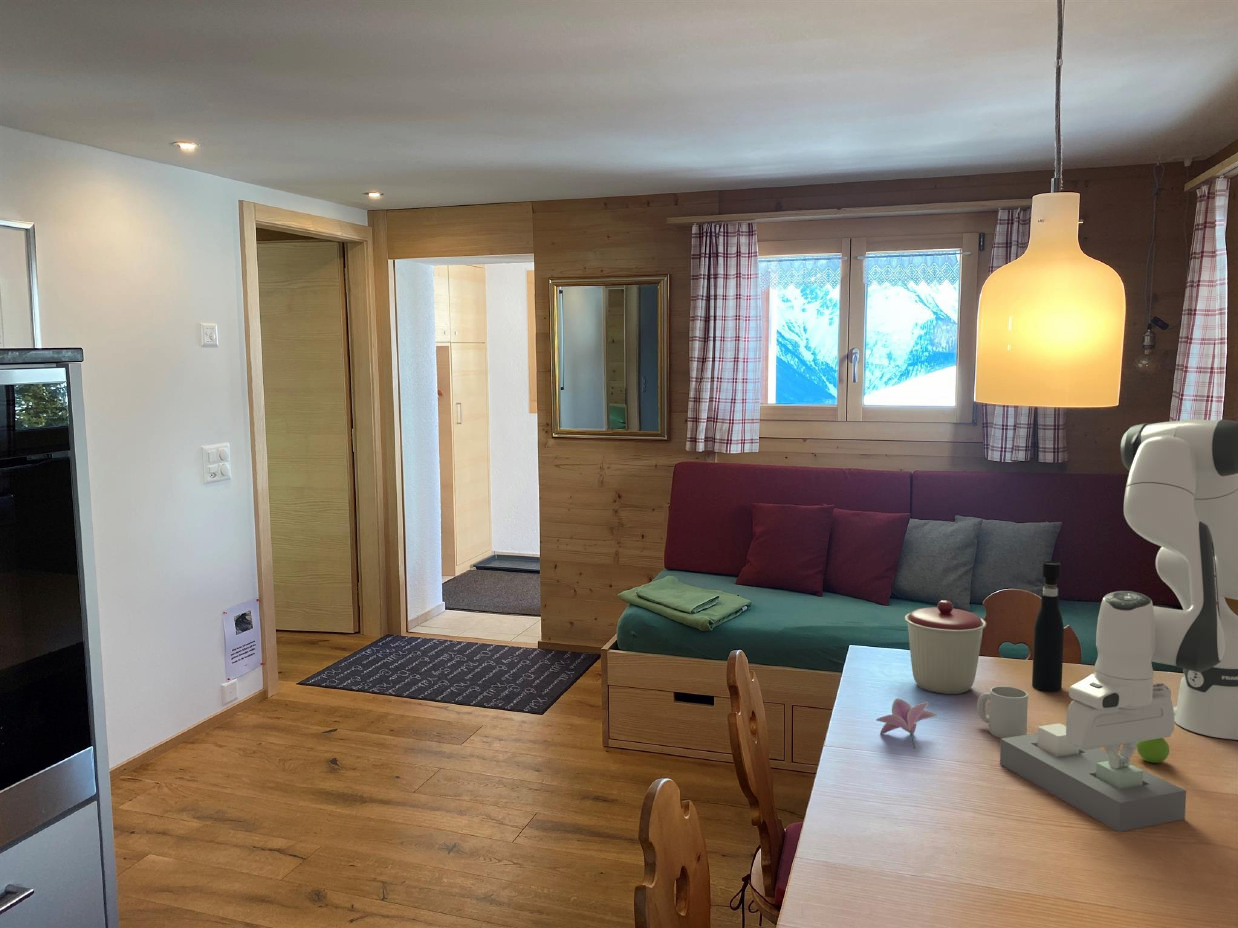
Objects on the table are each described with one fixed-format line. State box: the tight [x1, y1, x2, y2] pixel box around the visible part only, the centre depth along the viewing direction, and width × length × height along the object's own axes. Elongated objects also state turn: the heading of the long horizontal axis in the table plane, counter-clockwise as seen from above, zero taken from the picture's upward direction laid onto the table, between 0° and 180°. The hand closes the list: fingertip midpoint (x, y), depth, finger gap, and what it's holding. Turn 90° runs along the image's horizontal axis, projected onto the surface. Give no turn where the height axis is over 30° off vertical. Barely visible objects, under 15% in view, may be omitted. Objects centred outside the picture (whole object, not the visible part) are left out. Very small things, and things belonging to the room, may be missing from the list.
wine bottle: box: [1031, 560, 1065, 693], centre depth 219 cm, size 6×6×30 cm
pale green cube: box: [1096, 761, 1144, 790], centre depth 160 cm, size 5×5×5 cm
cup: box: [976, 685, 1029, 739], centre depth 193 cm, size 7×10×9 cm
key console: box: [999, 732, 1187, 833], centre depth 167 cm, size 14×28×5 cm, turn 18°
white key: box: [1037, 722, 1079, 757], centre depth 173 cm, size 5×5×5 cm
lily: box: [875, 698, 938, 749], centre depth 189 cm, size 12×12×10 cm
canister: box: [904, 599, 987, 695], centre depth 220 cm, size 18×18×21 cm
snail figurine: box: [1136, 738, 1170, 764], centre depth 178 cm, size 5×6×12 cm
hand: (1119, 766), depth 160 cm, fingers closed, pressing on pale green cube
